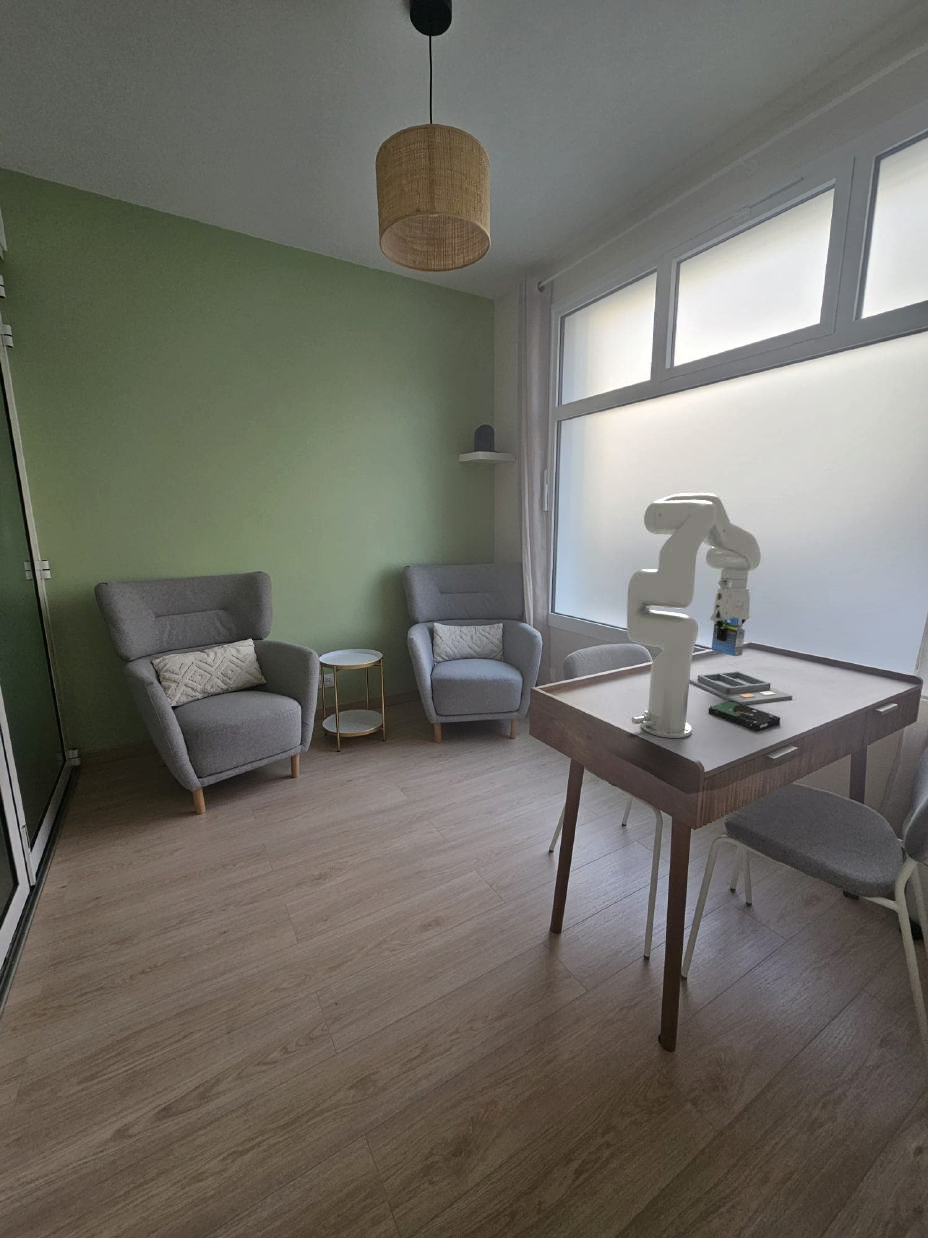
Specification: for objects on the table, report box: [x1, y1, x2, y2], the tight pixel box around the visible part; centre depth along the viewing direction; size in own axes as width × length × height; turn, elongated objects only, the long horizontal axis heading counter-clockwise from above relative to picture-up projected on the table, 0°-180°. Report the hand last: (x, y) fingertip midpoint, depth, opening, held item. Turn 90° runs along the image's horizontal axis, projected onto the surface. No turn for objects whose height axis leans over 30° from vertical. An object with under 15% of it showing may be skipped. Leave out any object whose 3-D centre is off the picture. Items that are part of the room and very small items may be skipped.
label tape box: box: [710, 618, 746, 657], centre depth 163 cm, size 9×4×12 cm, turn 24°
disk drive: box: [708, 700, 781, 733], centre depth 142 cm, size 10×3×15 cm
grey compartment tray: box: [689, 670, 793, 706], centre depth 165 cm, size 20×22×3 cm
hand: (727, 639), depth 163 cm, fingers closed on label tape box, 4 cm apart
